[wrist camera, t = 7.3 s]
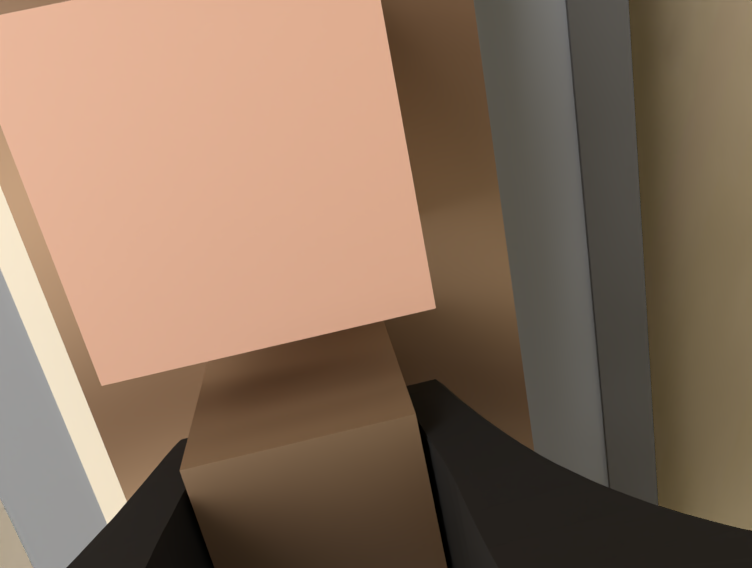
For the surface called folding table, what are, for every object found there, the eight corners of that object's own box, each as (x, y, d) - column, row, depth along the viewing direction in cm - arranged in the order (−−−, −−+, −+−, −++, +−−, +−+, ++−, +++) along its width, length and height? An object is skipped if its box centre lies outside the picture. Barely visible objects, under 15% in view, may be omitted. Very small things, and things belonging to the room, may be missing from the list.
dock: (612, 529, 21) (664, 605, 18) (140, 647, 20) (116, 746, 18) (550, -164, 15) (615, -217, 12) (-149, -26, 14) (-266, -45, 11)
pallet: (536, 613, 18) (650, 874, 12) (239, 689, 17) (215, 994, 12) (429, -105, 12) (555, -240, 6) (-24, -13, 12) (-319, -69, 6)
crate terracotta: (389, 224, 12) (435, 308, 8) (162, 276, 12) (101, 386, 8) (340, -22, 10) (369, -61, 7) (81, 32, 10) (-40, 22, 6)
